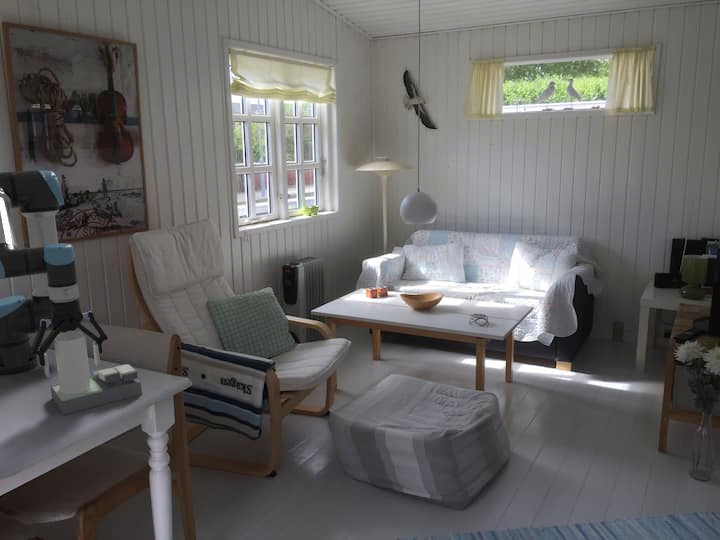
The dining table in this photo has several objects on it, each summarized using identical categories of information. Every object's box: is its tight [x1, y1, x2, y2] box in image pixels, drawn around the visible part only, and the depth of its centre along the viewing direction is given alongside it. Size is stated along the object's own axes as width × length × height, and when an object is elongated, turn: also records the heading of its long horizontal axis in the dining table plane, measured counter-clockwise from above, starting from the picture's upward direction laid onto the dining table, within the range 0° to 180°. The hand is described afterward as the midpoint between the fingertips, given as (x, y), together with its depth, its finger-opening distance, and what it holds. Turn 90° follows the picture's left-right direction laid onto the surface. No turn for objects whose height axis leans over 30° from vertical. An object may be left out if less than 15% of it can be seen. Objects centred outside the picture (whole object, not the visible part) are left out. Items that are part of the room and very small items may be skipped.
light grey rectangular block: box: [97, 367, 121, 383], centre depth 188 cm, size 2×4×8 cm
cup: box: [53, 331, 91, 394], centre depth 182 cm, size 8×8×16 cm
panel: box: [50, 363, 143, 415], centre depth 188 cm, size 14×22×7 cm, turn 128°
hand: (73, 370), depth 182 cm, fingers open, 13 cm apart
